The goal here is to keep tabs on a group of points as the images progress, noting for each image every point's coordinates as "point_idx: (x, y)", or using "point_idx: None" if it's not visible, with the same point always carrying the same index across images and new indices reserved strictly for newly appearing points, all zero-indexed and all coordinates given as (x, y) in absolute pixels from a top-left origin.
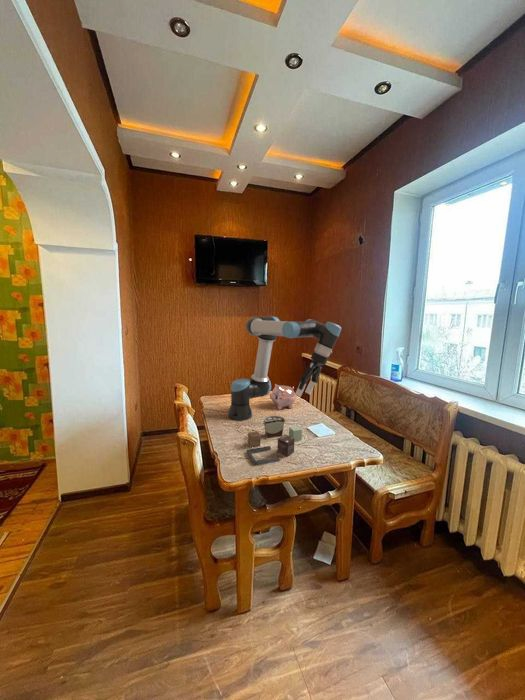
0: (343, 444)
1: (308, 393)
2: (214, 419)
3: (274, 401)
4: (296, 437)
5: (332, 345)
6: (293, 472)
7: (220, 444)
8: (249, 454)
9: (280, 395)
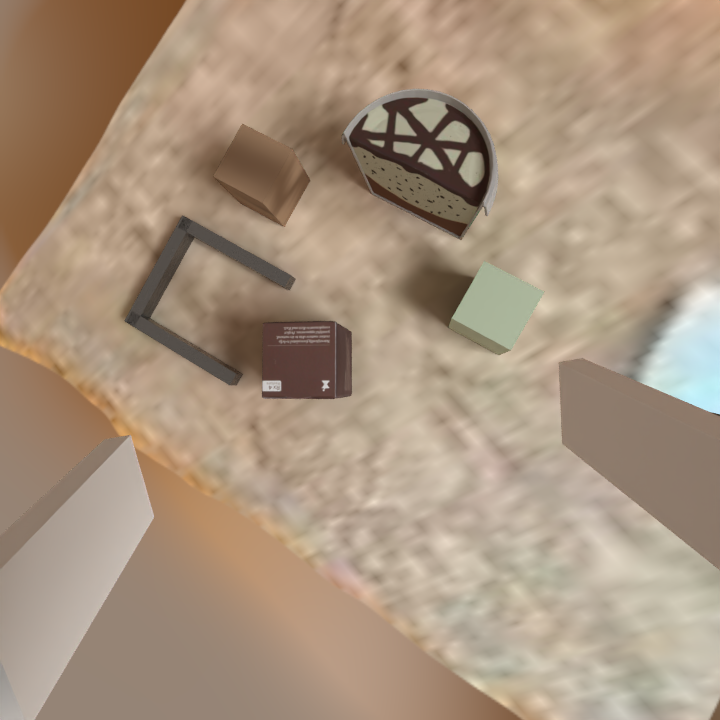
0: (634, 582)
1: (564, 424)
2: None
3: None
4: (469, 335)
5: None
6: (200, 489)
7: (168, 71)
8: (160, 257)
9: None
